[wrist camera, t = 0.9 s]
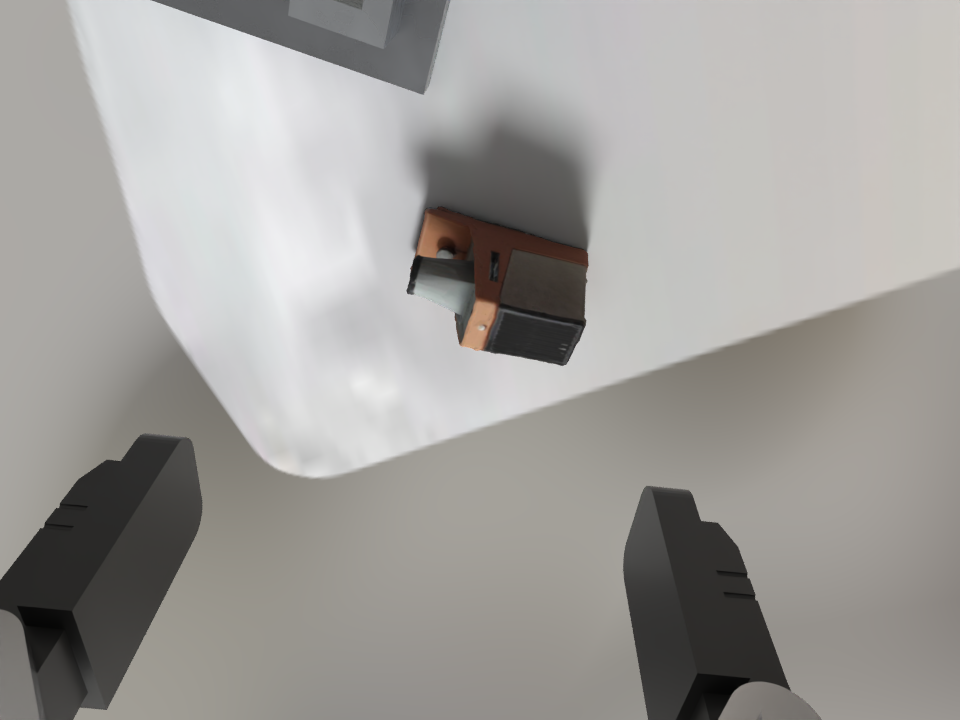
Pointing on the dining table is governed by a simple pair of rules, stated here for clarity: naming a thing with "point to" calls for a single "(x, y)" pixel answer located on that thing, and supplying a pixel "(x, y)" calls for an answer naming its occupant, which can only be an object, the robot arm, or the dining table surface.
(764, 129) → the dining table surface
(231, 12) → the grey square frame
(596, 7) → the dining table surface
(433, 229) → the electronic device
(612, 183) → the dining table surface
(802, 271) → the dining table surface
